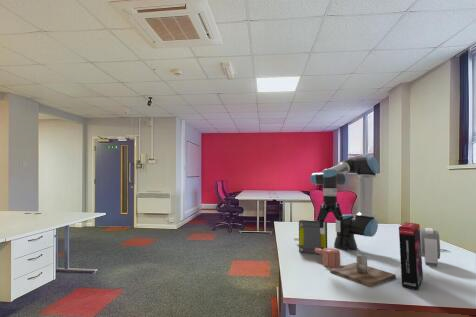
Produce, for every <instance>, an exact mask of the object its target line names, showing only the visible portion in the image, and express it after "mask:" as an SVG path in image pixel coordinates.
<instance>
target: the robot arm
mask: <svg viewBox="0 0 476 317" xmlns="http://www.w3.org/2000/svg"><path fill="white" fill-rule="evenodd" d="M378 173H380V164H379V161H378V159H377V158H375V157H374V156H362V157H351V158H347V159H344V160H341V161H340V162H338V164H337V165H334V166H332V167H330V168H325V169H323V170H322V171H320V172H313V173H312V174H310V176H309V178H310V179H309V180H310V182H311V184H312V185H317V186H319V185H321V186H322V185H323V186H322V192H323V193H322V194H323V196H322V199H323V201H322V202H324V204H323V203H322V204H320V207H319V211H318V215H317V218H316V221H318V222H320V234H325V222H326V221H325V220H326V219H327V217H328V214H330V213H332V214H333V215H334V217H335V232H336V236H335V239H334V245H333V248H334V249H337V250H343V251H356V250H358V245H357V242H356V239H355V235H356V236H357V235H358V236H362V237H363V236H364V237H369V238H370V237H371V238H372V237H374V236H375V235H376V233H377V231H378V228H379V223H378V221H377V219H375V216H374V214H373V191H374V190H373V189H374V178H376V175H377V174H378ZM348 174H354V175H357V177H358V178H359V181H358V201H357V202H358V203H357V204H358V205H357V206H358V208H357V213H356V214H355V215H354V214H342V210H341V207H340V206H341V205H340V203H337V202H338V196H337V195H338V193H337V192H338V188H337V187H338V186H345V185H346V184H347V183H348V182H349V179H348V178H349V177H348V176H347V175H348Z"/></svg>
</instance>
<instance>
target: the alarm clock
mask: <svg viewBox="0 0 476 317" xmlns="http://www.w3.org/2000/svg"><path fill="white" fill-rule="evenodd" d="M420 240H421V255H422V258H423V259H424V264H425V265H426V266H429V267H435V268H436V267H438V264H439V259H440V258H441V242H440V241H441V240H440V234H439V231H437V230H434V229H433V228H432V227H425V228H424V229H420Z"/></svg>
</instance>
